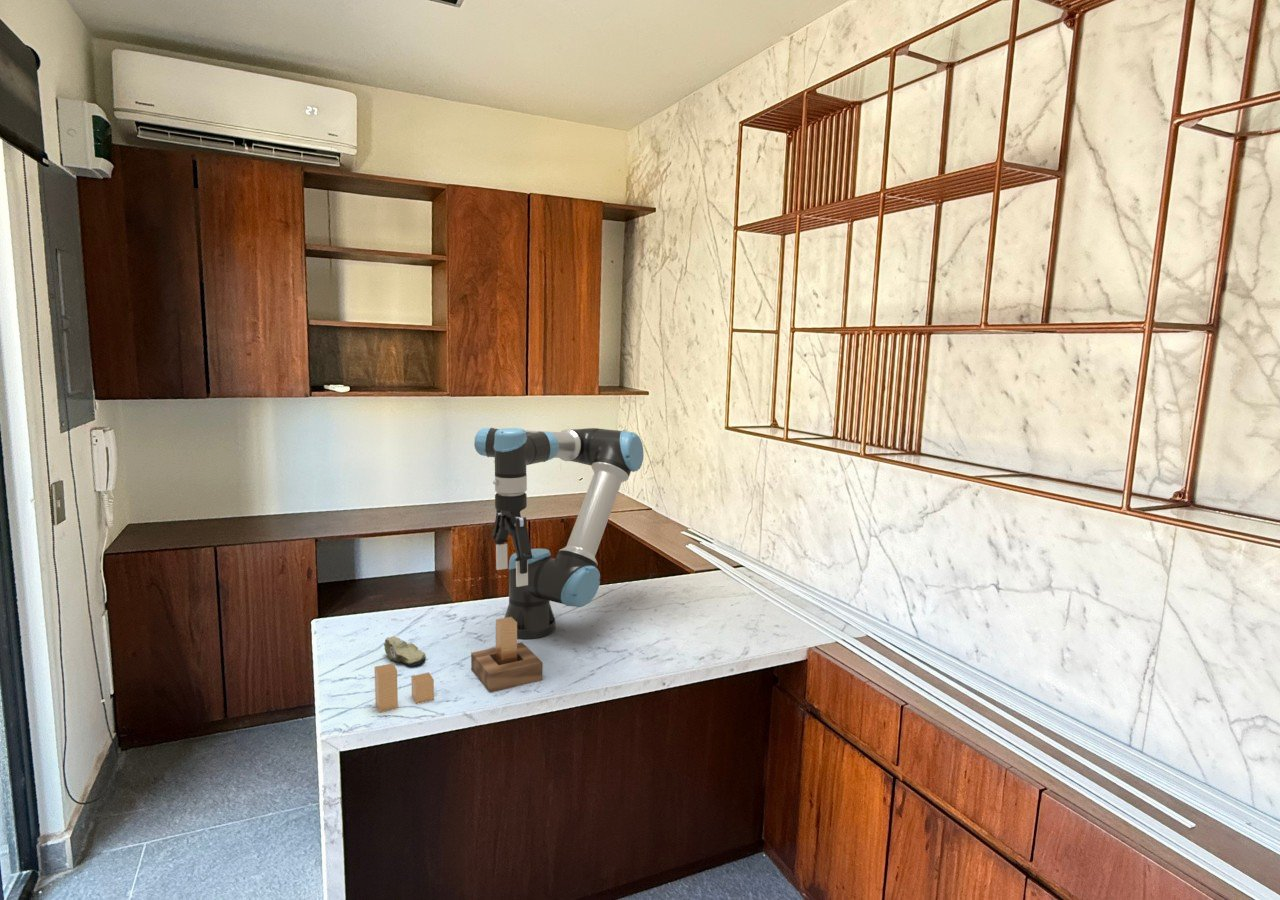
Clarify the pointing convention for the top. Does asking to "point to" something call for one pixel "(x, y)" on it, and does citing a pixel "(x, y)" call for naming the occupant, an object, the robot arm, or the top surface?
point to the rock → (403, 651)
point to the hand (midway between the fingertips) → (511, 577)
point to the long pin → (506, 640)
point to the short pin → (422, 688)
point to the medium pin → (386, 687)
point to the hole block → (506, 669)
